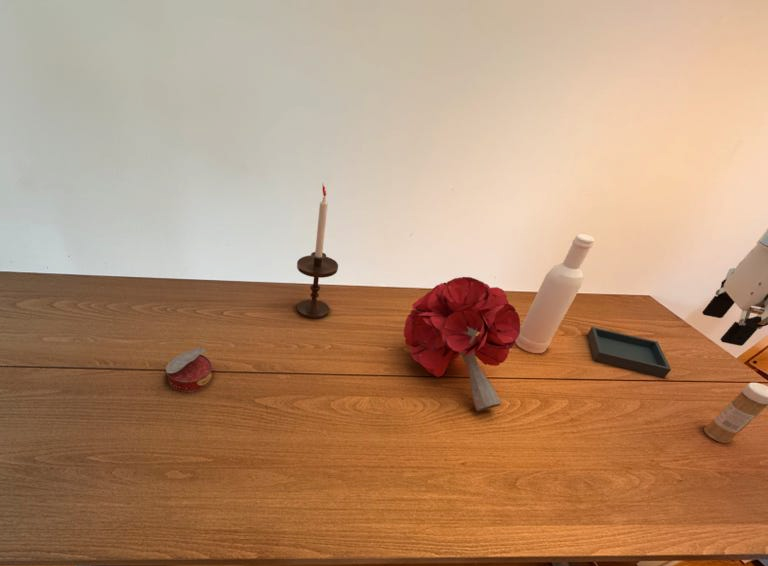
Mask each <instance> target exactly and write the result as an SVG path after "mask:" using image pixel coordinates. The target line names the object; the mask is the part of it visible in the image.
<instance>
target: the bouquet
mask: <svg viewBox="0 0 768 566" xmlns="http://www.w3.org/2000/svg"><path fill="white" fill-rule="evenodd" d="M520 318H521V317H520V316H519V313H518V312H517V311H516V308H515V307H514V305H512V304H511V303H510V302H509V300H508V299H507V294H506V292H505V290H504V289H502V288H499V286H496V287H495V286H494V287H491V286H490V285H489V284H487V283H485V282H484V281H481V280H479V279H477V278H475V277H471V276H461V277H455V278H452V279H450V280H447V281H446V282H441V283H439V284H436V285H435V286H434V287H433V288H432V290H430V291H429V292H426V294H424V295H423V296H422V297H420V298H418V299H416V301H415V302H413V303H412V305H411V310H410V313H409V314H408V315H407V317H406V319H405V323H404V328H403V337H404V338H405V340H404V342H405V344H406V346H408V347H409V348H410V347H411V348H410V349H409V351H408V352H409V354H411V357H412V359H413V360H414V361H415V362H417V363H418V364H420V365H421V366H423V367H424V370H426V372H427V373H430V374H431V375H434V376H435V377H437V378H439V377H442V376H444V374H445V372H446V369H448V366H449V362H452V361H454V360H456V359H458V358H459V357H460V356H461V358H462V360H463V361H464V364H465V366H466V368H467V372H468V376H469V384H470V393H471V397H472V399H471V400H472V403H473V405H474V408H475V410H476V412H480V411H486V410H489V409H493V408H495V407H496V408H497V407H498V406H500V405H502V403H501V400H500V397H499V395H498V393H497V391H496V389H495V388H494V386H493V385H492V383H491V381H490V380H489V379H488V377H487V376H486V374H485V373H484V372H483V371H482V369H481V367H480V365H479V363H478V360H479V361H481V363H483V364H484V365H485V366H487V365H488V366H490V367H497V366H500V364H501V363H504V362H505V361H506V360H507V359H508V356H509V354H510V349H512V348H513V347H514V346H516V345H517V344H516V341H515V340H516V339H517V338H518V337H519V334H520V328H521V319H520Z"/></svg>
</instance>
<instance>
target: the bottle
mask: <svg viewBox="0 0 768 566" xmlns="http://www.w3.org/2000/svg"><path fill="white" fill-rule="evenodd" d="M594 242H595V238H594V237H593V236H591V235H590V234H589V235H588V234H585V233H579V234H577V235H576V236H575V237H574V239H573V240H572V242H571V243H572V244H571V246H570V248H569V249H568V252H567V254H566V256H565V257H564V260H563V261H562V263H558V264H556V265H554V266H553V267H551V269H550V270H548V271H547V273H546V274H545V276H544V278H543V280H542V282H541V284H540V287H539V288H538V291H537V293H536V294H535V297H534V299H533V301H532V303H531V305H530V307H529V309H528V311H527V313H526V315H525V318H524V319H523V321H522V324H521V325H520V334H519V337H518V338H517V339H516V340H515V341H516V344H515V345H516V346H518V347H519V348H520V350H521V349H522V350H523V351H526V352H528V353H531V354H532V353H533V354H542V353H544V352H546V350H547V349H548V347H549V346H550V344H551V342H552V340H553V338H554V336H555V334H556V332H557V331H558V328H559V327H560V325H561V324H562V321H564V320H563V319H565V316H566V314H567V313H568V311H569V309H570V307H571V305H572V303H573V302H574V300H575V298H576V296H577V294H578V292H579V291H580V289H581V287H582V286H583V283H584V272H583V271H582V270H581V266H582V264H583V263H584V261H585V258H586V257H587V255H588V253H589V251H590V249H591V248H592V247H593V246H594Z"/></svg>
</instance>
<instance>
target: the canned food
mask: <svg viewBox="0 0 768 566" xmlns="http://www.w3.org/2000/svg"><path fill="white" fill-rule="evenodd" d="M206 351H207V348H206V347H199V348H193V349H191V350H187V351H186V352H183V353H181V354H179V355H177V356H174V357H173V358H172V359H171V360H170V361H169V362H168V363H167V365H166V366H165V371H166V375H167V381H168V383H169V385H170V387H172V388H173V389H174V390H176V391H179V392H183V393H192V392H197V391H200V390H202V389H204V388H205V387H207V386H208V385H209V384H210V383H211V382H212V380H213V370H212V362H211V360H210V359H209V358H208V357H207V356H205V355H202V354H204V353H205V352H206ZM170 382H171V383H172V384H171V383H170ZM174 385H175V386H174ZM176 386H177V387H176ZM179 387H180V388H179ZM186 388H187V389H186Z"/></svg>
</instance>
